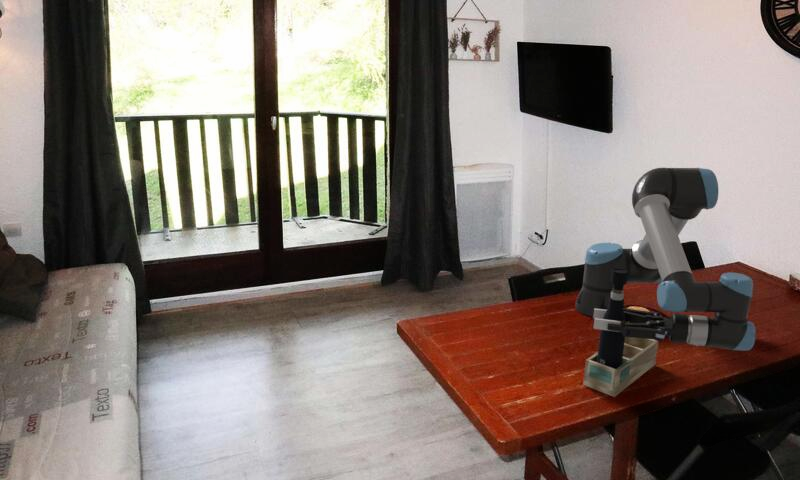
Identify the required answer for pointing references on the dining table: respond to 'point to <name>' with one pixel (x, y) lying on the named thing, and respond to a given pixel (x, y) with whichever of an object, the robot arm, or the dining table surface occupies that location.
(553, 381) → the dining table surface
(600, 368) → the wooden compartment box
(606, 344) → the black metal bottle
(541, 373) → the dining table surface
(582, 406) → the dining table surface
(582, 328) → the dining table surface
